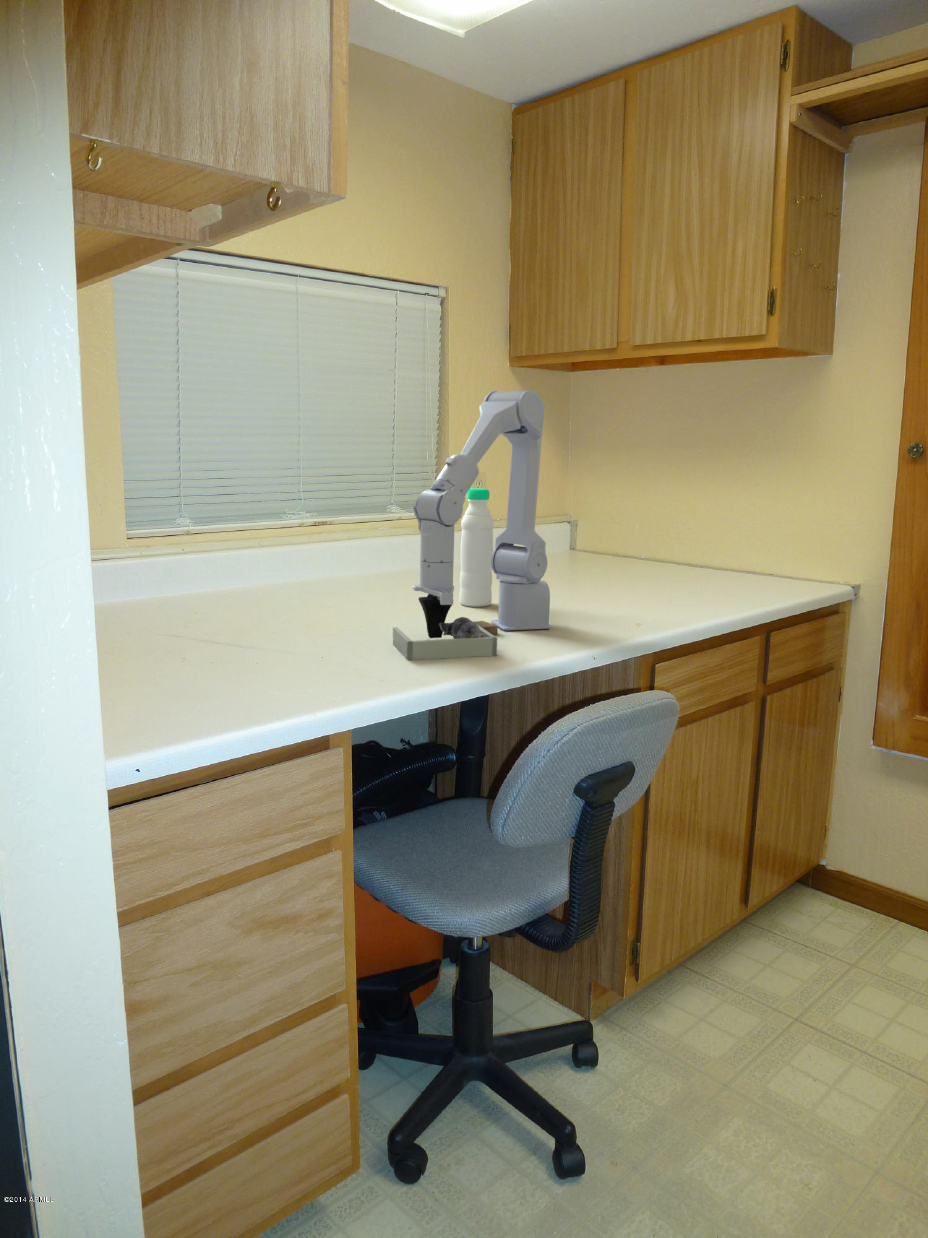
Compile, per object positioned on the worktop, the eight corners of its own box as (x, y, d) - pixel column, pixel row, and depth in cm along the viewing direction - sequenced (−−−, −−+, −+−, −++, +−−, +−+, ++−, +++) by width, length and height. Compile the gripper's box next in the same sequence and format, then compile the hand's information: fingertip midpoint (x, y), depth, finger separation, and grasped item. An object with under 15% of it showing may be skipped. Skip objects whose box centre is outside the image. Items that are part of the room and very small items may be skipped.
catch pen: (476, 640, 155) (476, 624, 154) (496, 655, 144) (497, 637, 143) (392, 644, 150) (392, 627, 150) (407, 660, 140) (407, 642, 139)
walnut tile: (482, 631, 164) (482, 620, 164) (497, 636, 160) (497, 625, 160) (459, 633, 162) (460, 623, 161) (474, 639, 157) (475, 628, 157)
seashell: (434, 637, 151) (468, 661, 144) (438, 608, 149) (473, 632, 142) (458, 632, 154) (493, 656, 147) (462, 605, 152) (498, 627, 145)
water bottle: (488, 608, 184) (492, 490, 179) (456, 606, 186) (458, 488, 181) (494, 602, 191) (497, 488, 186) (462, 600, 192) (465, 487, 187)
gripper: (404, 554, 154) (403, 629, 157) (424, 567, 140) (422, 648, 143) (443, 554, 156) (441, 627, 159) (466, 566, 142) (463, 646, 145)
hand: (435, 637), depth 151 cm, fingers closed, pressing on seashell
